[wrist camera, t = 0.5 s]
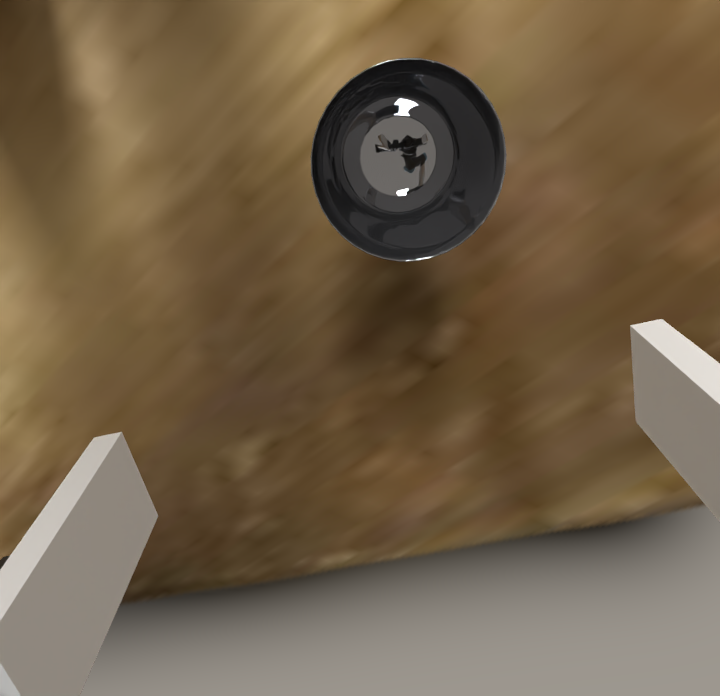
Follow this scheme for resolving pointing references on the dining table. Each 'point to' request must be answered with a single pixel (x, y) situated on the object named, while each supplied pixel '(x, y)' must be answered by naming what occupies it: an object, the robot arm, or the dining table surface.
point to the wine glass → (408, 159)
